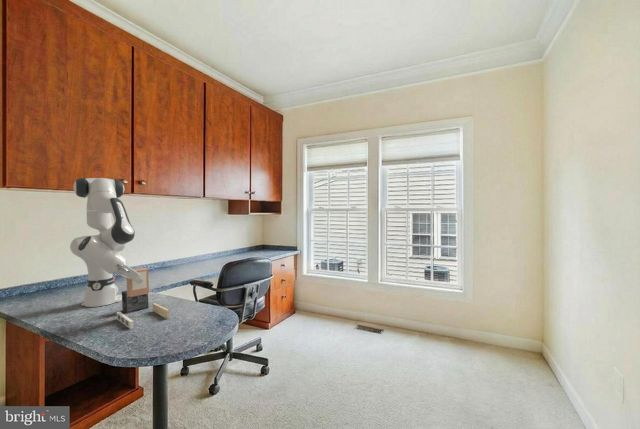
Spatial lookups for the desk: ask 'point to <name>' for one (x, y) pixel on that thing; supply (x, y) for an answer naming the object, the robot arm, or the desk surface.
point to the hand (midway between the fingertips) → (139, 281)
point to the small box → (134, 302)
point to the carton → (138, 284)
